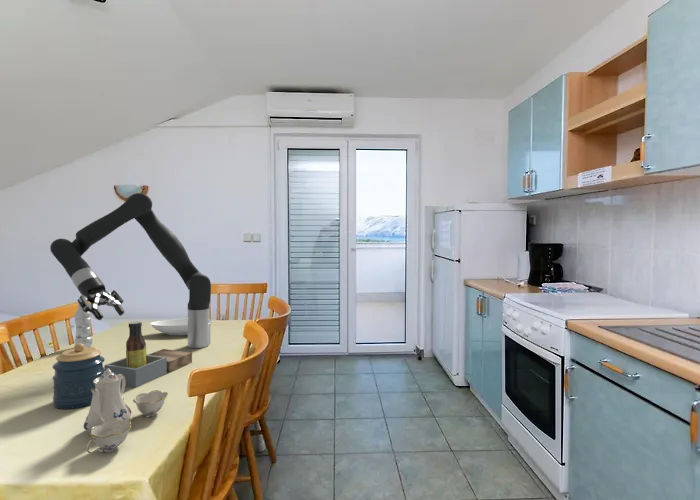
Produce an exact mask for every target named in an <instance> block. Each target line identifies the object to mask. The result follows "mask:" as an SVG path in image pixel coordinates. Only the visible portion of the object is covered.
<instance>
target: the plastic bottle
mask: <svg viewBox="0 0 700 500" xmlns="http://www.w3.org/2000/svg"><path fill="white" fill-rule="evenodd" d="M92 316H93V314H92V313H91V312H84V311H83V309H82V307H81V306H80V304H79V303H78V302H77V310H76V311H75V312H74V315H73V317H74V321H75V322H74V323H75V338H74V346H75V345H76V344H78V343H82V344H84V347H92V345H93V337H92V331H91V325H92Z"/></svg>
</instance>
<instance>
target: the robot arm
mask: <svg viewBox="0 0 700 500" xmlns="http://www.w3.org/2000/svg"><path fill="white" fill-rule="evenodd" d="M152 208H153V201H152V198H151V197H150V196H149V195H147V194H145V193H141V192H136V193H132V194H131V195H129V197H127V198H126V200H125V202H123V204H121V205H120V206H119V207H117V208H115V209H114V210H112V211H111V212H109V213H108V214H106V215H104V216H102V217H100V218H98V219H95V220H94V221H93V222H91V223H89V224H87V225H86V226H84V227H83V228H81V229H79V230H78V231H77V232H76V233H75V239H73V241H72V242H71V240H69V239H67V238H57V239H54V240H53V241H52V242H51V244H50V248H49V249H50V252H51V254H52V255H53V257H55V258H56V260H57V261H58V263H60V264H61V266H62V267H63V269H64V270H65V272H66V274H67V275H68V276H69V277H70V279H71V281H72V283H73V285H74V286H75V287H76V289H77V291H79V293H80V294H81V295H80V296H79V298H78V299H77V304H78V303H79V304H80V306H81V307H82V309H83V311H84V312H91V313H92V316H94V318H95V319H96V320H98V321H102V319H103V318H104V315H103V313H102V312H101V311H100V309H99V308H98V307H100V306H108V307H112V308H113V309H114V310H115V311H116V313H117V314H118V315H119V316H122V315H124V314H125V310H124V308H123V307H122V304H123V303H124V299H123V298H122V296H120V295H119V293H118V292H117V291H116V290H115V289H114V290H112V291H111V292H108V291H107V290H106V286H105V284H104V283H103V281H102V280H101V279H100V278H99V276H98V274H97V273H96V272H95V271H94V270H93V269H92V268H91V267H90V265H89V264H88V262H87V261H86V260H85V259H84V258H83V257H82V256H83V255H84V254H85V253H86V252H87V251H88V249H90V247H91V246H93V245H95V244H96V243H98V242H99V241H101V240H103V239H105V237H107V236H109V235H110V234H112V233H113V232H114V231H116V230H117V229H118V228H120V227H121V226H123V225H125V224H126V223H128V222H130V221H131V220H133V219H135V221H136V222H137V223H138V224H139V226H141V228H142V229H143V230H144V231H145V233H146V234H147V236H148V237H149V239H150V240H151V242H152V243H153V244H154V246H155V248H156V249H157V250H158V251H159V253H160V254H161V255H162V257H163V258H164V259H165V260H166V261H167V263H169V264H170V265H171V266H172V267H173V268H174V270H175V271H176V272H177V273H178V275H179V276H180V278H181V280H182V281H183V283H184V284H185V286H186V288H187V290H189V291H188V293H189V295H188V297H189V298H188V299H189V300H188V303H187V319H188V335H187V347H188V348H190V349H201V348H206V347H208V346H210V344H211V324H210V323H209V319H210V304H211V300H212V299H211V295H212V290H211V289H212V286H211V285H212V284H211V279H210V277H208V276H207V275H206V274H203V273H201V272H200V271H199V269H198V268H197V267H196V266H195V264H194V263H193V262H192V261H191V259H190V257H189V255H188V252H187V251H186V249H185V247H184V245H183V243H182V242H181V241H180V240H179V238H178V237H177V236H176V234H175V233H174V232H173V231H172V230H170V228H169V227H168V226H167V225H165V224H164V223H163V222H162V221H161V220H160V219H159V217H158V216H157V215H156V214H155V212H154V210H153V209H152Z"/></svg>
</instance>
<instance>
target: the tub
mask: <svg viewBox="0 0 700 500" xmlns="http://www.w3.org/2000/svg"><path fill="white" fill-rule="evenodd" d="M146 361H147V364H146V365H144V366H141V367H139V368H136V369H135V368H128V367H127V363H126V357H124V358H120V359H117V360H116V361H112V362H110V363H107V364H104V365H103V368H104V369H105V371H106V369H108V368H109V369H110V370H111V372H113V373H115V375H118V374H122V375H124V377H125V380H126V386H125V387H129V388H138V387H140V386H142V385H145V384H147V383H149V382H151V381H153V380H157V379H158V378H160V377H162V376H164V375H167V373H168V372H167V357H159V356H152V355H148V354H146ZM105 371H104V372H105ZM120 386H122V379H121V383H120Z"/></svg>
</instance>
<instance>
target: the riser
mask: <svg viewBox="0 0 700 500" xmlns="http://www.w3.org/2000/svg"><path fill="white" fill-rule="evenodd" d="M147 355H152V356H159V357H167V373H171V372H175V371H176V370H178V369H180V368H183V367H186V366H187V365H190V364H192V363H193V352H191V351H190V352H189V351H182V350H181V351H180V350H173V349H166V348H163V349H160V350H157V351H155V352H152V353H149V354H147ZM189 363H190V364H189Z"/></svg>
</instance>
